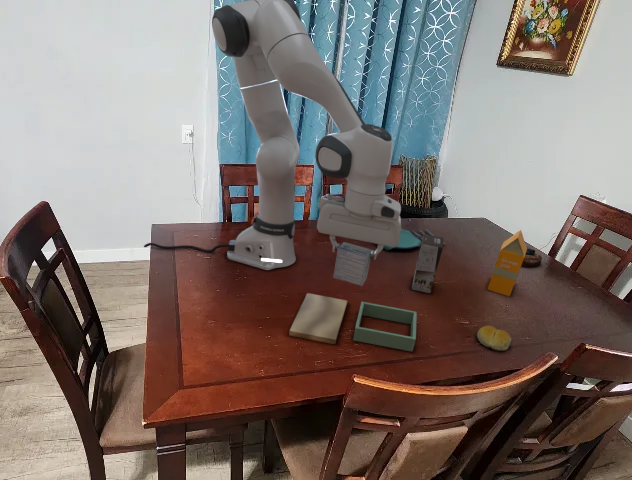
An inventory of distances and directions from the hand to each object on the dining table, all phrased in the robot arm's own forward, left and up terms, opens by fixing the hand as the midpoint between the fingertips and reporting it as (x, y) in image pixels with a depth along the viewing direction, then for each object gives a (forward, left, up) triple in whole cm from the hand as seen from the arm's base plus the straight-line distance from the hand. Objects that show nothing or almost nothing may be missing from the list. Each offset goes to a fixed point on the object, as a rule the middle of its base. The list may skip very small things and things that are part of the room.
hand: (354, 255), depth 110 cm
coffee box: (+21, +30, -21) cm, 43 cm away
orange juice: (+48, +39, -21) cm, 66 cm away
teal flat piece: (+15, +65, -21) cm, 70 cm away
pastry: (+61, +67, -21) cm, 93 cm away
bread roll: (+41, +4, -21) cm, 46 cm away
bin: (+11, -1, -21) cm, 23 cm away
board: (-7, -1, -21) cm, 22 cm away
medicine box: (0, 0, -7) cm, 7 cm away
